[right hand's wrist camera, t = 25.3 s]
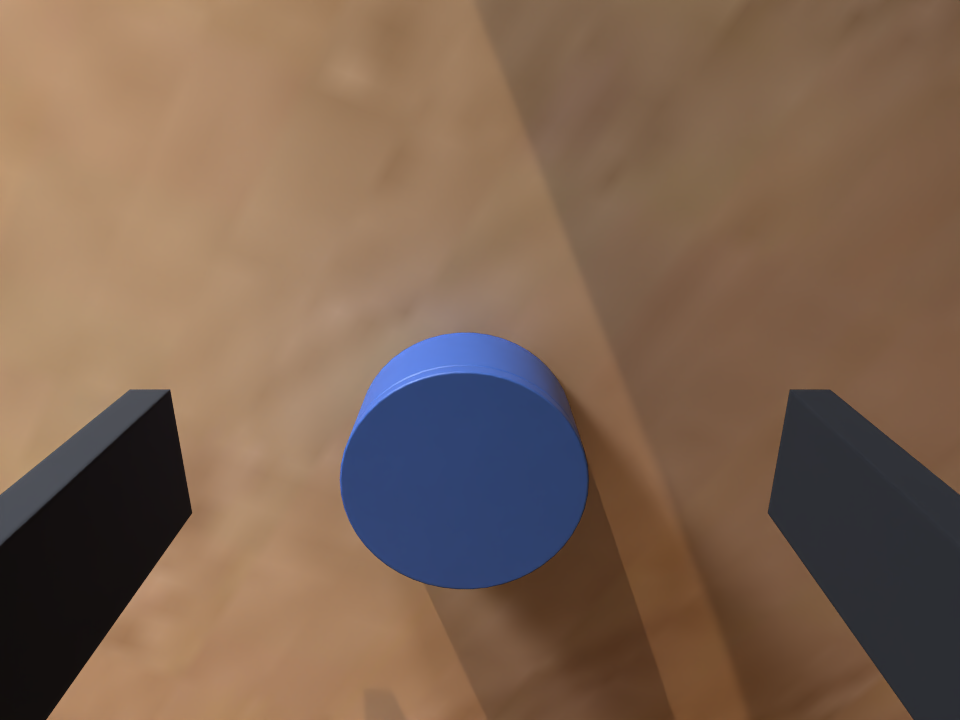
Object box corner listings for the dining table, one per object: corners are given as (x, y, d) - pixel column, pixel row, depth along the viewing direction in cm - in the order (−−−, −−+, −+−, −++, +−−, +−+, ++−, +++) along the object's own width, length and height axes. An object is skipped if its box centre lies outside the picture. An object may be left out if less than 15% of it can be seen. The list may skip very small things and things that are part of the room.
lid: (605, 371, 15) (628, 417, 13) (528, 547, 16) (537, 615, 14) (394, 302, 14) (379, 337, 12) (335, 490, 16) (312, 552, 14)
